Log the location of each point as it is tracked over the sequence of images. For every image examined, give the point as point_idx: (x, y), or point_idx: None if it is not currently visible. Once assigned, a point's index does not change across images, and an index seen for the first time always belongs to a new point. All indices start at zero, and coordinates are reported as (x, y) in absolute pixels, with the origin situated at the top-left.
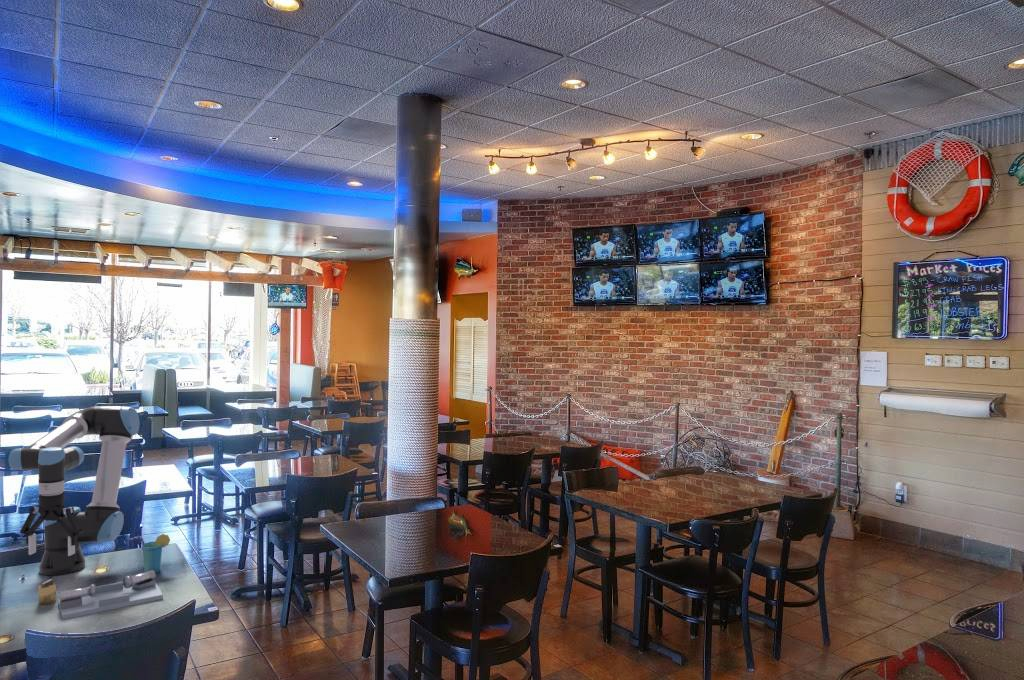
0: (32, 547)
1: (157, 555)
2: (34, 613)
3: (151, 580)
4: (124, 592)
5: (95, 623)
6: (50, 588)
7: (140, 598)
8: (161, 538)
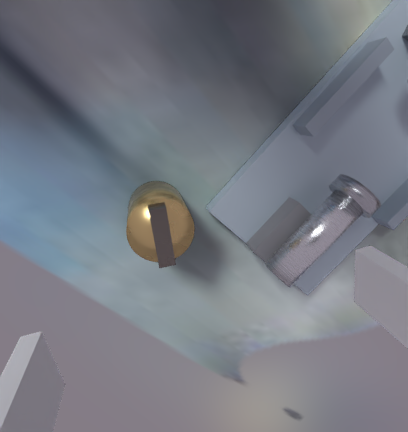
0: (42, 423)
1: None
2: (190, 283)
3: None
4: (396, 90)
5: None
6: (190, 239)
7: None
8: None
